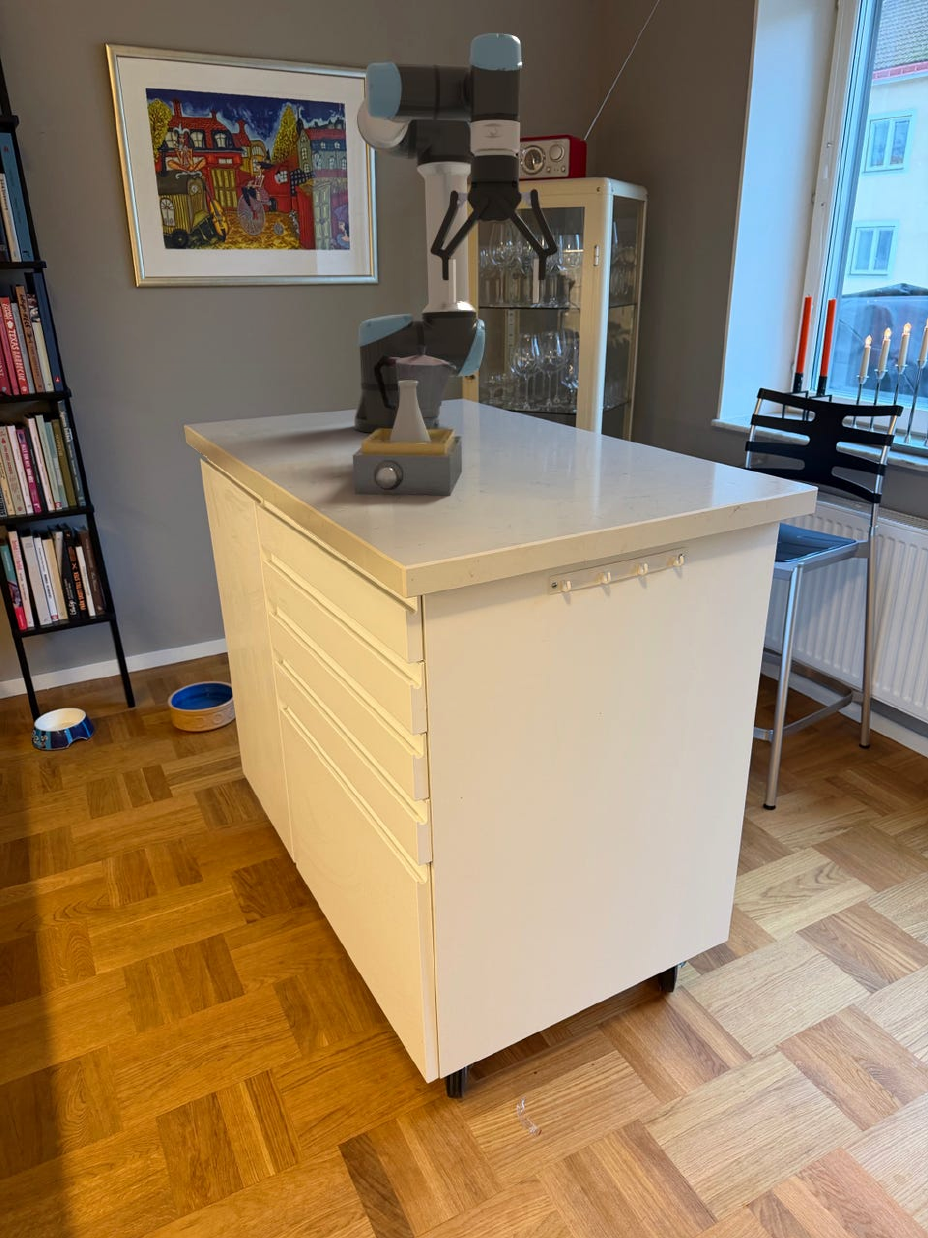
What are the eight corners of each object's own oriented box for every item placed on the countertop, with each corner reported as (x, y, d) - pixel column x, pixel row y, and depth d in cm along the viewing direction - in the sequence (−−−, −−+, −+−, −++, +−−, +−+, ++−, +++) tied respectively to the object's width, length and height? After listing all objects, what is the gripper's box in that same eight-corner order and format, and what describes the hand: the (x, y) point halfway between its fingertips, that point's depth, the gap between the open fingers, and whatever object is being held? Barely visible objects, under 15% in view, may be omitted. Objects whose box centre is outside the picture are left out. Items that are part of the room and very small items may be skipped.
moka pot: (451, 465, 153) (450, 347, 146) (368, 462, 156) (363, 346, 149) (462, 454, 162) (461, 343, 155) (383, 451, 165) (379, 342, 157)
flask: (382, 442, 141) (379, 380, 138) (424, 439, 144) (422, 377, 140) (394, 450, 135) (392, 385, 131) (438, 447, 137) (437, 382, 134)
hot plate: (376, 469, 150) (374, 426, 147) (461, 471, 149) (461, 427, 146) (351, 497, 132) (348, 448, 129) (448, 499, 131) (447, 449, 128)
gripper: (410, 154, 131) (414, 303, 139) (576, 150, 127) (570, 303, 136) (419, 159, 137) (422, 301, 146) (577, 156, 134) (571, 301, 142)
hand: (493, 302), depth 141 cm, fingers open, 13 cm apart
